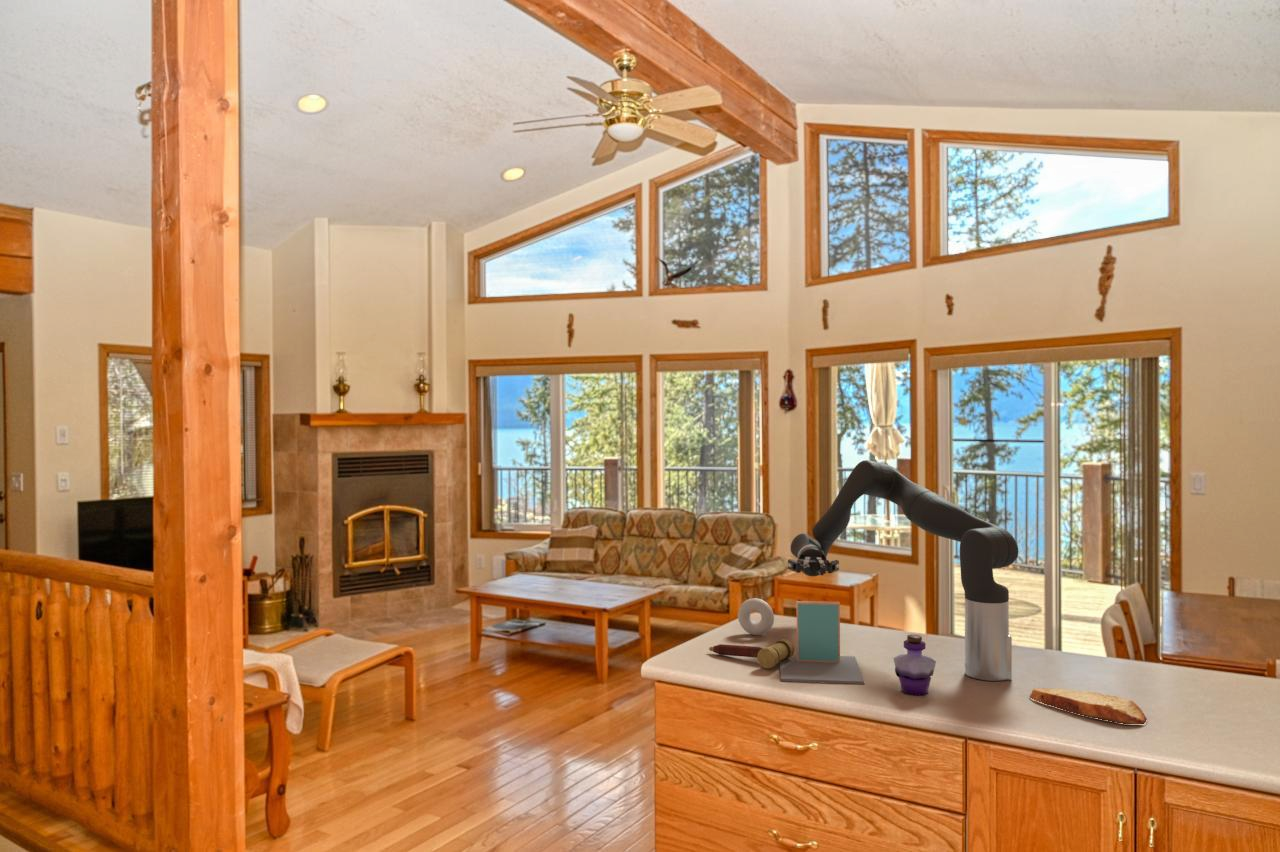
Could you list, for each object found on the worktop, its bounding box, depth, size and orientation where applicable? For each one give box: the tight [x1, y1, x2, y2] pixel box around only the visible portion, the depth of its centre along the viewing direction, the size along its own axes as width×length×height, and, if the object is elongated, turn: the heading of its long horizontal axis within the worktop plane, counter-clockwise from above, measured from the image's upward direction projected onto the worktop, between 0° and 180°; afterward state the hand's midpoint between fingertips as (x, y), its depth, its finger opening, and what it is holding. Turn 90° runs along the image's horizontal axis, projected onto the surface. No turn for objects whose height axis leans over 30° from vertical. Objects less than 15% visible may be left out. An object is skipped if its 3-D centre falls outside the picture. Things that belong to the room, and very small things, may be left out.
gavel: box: [708, 638, 795, 669], centre depth 208 cm, size 21×5×10 cm
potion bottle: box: [892, 634, 937, 697], centre depth 183 cm, size 9×9×12 cm
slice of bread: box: [1029, 687, 1148, 724], centre depth 171 cm, size 18×18×4 cm
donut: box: [737, 597, 775, 636], centre depth 231 cm, size 10×4×10 cm, turn 65°
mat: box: [779, 653, 865, 685], centre depth 199 cm, size 18×20×1 cm
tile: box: [796, 600, 841, 663], centre depth 204 cm, size 10×2×14 cm, turn 82°
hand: (815, 571), depth 215 cm, fingers open, 3 cm apart
